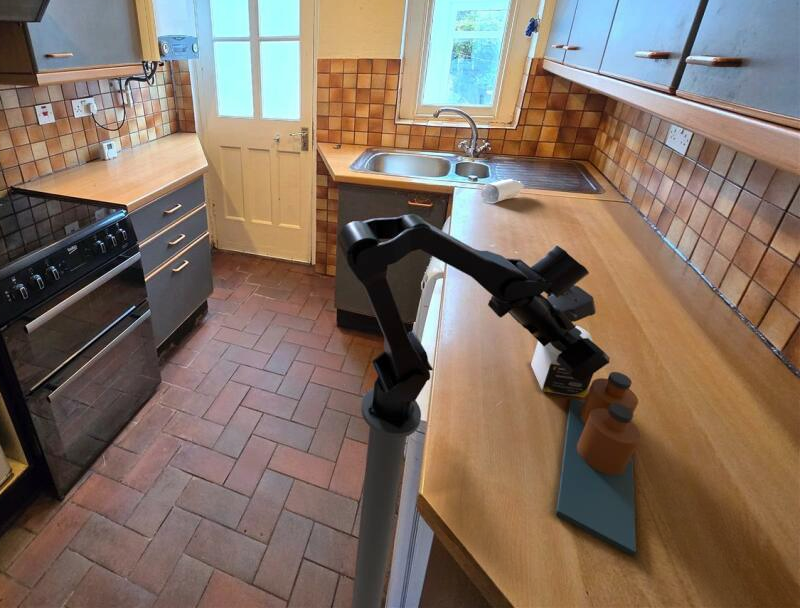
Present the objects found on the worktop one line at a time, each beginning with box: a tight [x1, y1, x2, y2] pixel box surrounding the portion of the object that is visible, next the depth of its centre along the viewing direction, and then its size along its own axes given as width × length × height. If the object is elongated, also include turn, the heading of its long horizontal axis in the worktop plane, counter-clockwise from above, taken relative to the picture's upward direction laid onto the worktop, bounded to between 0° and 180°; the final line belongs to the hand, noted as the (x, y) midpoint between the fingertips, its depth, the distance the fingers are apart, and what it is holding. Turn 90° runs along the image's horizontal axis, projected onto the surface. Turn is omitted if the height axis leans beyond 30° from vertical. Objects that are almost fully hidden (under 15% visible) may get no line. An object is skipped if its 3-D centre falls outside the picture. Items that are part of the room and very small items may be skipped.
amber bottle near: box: [577, 403, 641, 475], centre depth 61 cm, size 6×6×10 cm
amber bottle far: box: [580, 371, 639, 425], centre depth 66 cm, size 6×6×10 cm
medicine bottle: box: [530, 324, 594, 398], centre depth 75 cm, size 7×7×12 cm
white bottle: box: [480, 178, 525, 204], centre depth 165 cm, size 8×19×8 cm, turn 117°
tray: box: [555, 396, 637, 557], centre depth 62 cm, size 8×24×1 cm, turn 144°
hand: (573, 353), depth 75 cm, fingers closed on medicine bottle, 8 cm apart
